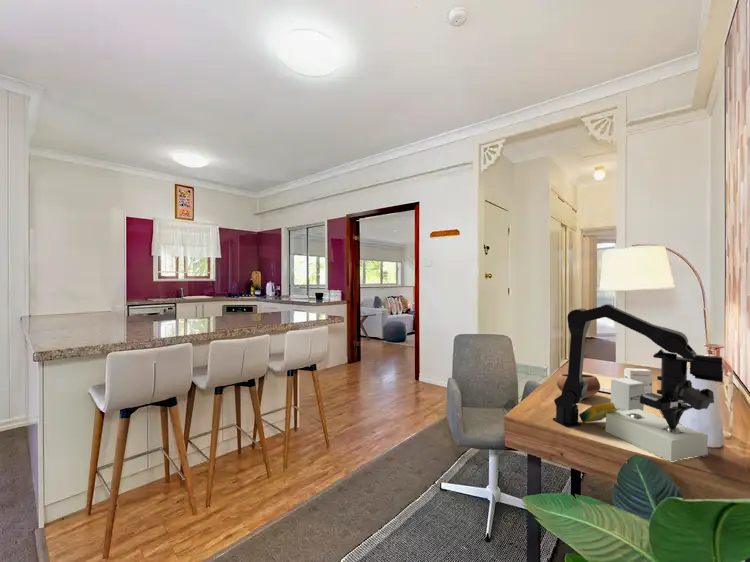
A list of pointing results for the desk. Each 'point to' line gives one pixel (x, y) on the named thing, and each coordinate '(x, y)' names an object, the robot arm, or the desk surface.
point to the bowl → (591, 379)
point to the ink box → (640, 377)
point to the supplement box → (626, 394)
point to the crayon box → (597, 412)
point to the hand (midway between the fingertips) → (672, 428)
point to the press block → (656, 435)
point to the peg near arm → (635, 416)
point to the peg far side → (672, 430)
